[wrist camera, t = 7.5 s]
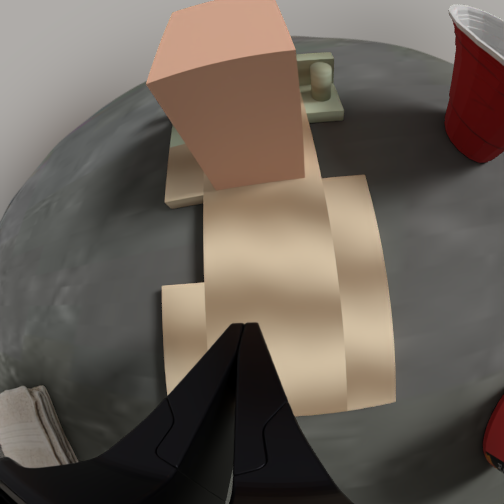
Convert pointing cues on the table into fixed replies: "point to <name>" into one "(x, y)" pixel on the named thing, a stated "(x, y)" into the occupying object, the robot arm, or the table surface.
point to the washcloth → (32, 429)
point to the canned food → (495, 437)
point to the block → (232, 91)
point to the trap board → (289, 271)
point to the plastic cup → (477, 85)
